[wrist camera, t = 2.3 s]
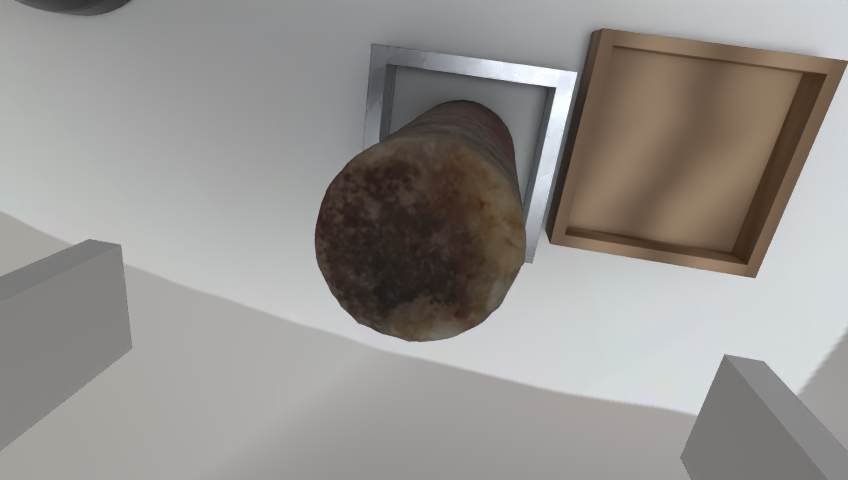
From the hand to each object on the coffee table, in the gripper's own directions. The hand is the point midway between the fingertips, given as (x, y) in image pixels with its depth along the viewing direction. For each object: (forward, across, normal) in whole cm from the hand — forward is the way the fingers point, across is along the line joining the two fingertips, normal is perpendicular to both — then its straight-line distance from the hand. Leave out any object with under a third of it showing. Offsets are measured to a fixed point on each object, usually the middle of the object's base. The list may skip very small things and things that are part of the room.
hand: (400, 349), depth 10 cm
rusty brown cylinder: (+25, 0, 0) cm, 25 cm away
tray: (+25, +14, +2) cm, 29 cm away
